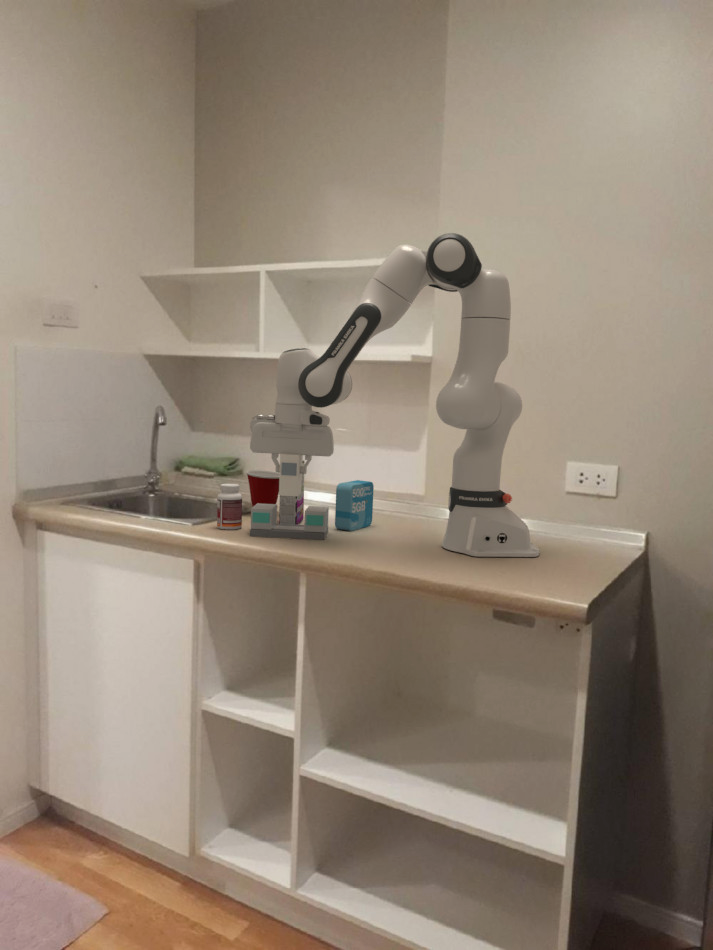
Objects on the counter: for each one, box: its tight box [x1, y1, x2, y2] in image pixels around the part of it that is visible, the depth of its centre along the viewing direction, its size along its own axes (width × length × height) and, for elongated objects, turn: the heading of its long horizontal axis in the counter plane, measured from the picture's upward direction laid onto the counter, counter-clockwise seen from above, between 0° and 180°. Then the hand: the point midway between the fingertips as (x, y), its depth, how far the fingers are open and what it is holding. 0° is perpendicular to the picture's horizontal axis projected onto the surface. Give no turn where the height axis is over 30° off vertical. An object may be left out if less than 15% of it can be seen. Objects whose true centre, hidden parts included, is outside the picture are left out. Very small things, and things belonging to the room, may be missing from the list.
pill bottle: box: [216, 483, 243, 531], centre depth 187 cm, size 6×6×11 cm
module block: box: [278, 453, 304, 496], centre depth 181 cm, size 4×7×10 cm, turn 177°
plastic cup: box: [245, 469, 280, 508], centre depth 209 cm, size 11×11×12 cm
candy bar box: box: [278, 459, 306, 525], centre depth 198 cm, size 11×5×16 cm, turn 174°
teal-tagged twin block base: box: [249, 503, 330, 541], centre depth 183 cm, size 18×10×7 cm, turn 87°
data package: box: [334, 479, 375, 532], centre depth 195 cm, size 12×4×12 cm, turn 150°
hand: (291, 473), depth 181 cm, fingers closed on module block, 4 cm apart
